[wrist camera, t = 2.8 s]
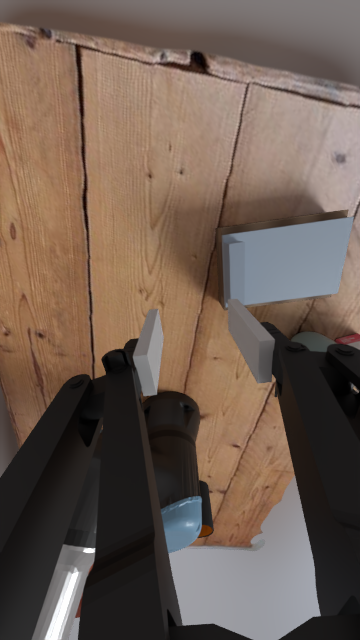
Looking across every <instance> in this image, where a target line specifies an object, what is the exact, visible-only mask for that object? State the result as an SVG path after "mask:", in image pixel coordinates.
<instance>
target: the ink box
mask: <svg viewBox="0 0 360 640" xmlns="http://www.w3.org/2000/svg"><path fill="white" fill-rule="evenodd" d="M335 342H336V343H338V344H347V345H350V346H353V347H355V348H357V349H359V350H360V335H359V334H354V335H349V336H345V337H342V338H338V339H336V340H335ZM354 387H355V388H356V389H357V387H356V386H354ZM357 390H358V389H357ZM358 391H359V390H358Z"/></svg>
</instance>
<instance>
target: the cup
mask: <svg viewBox="0 0 360 640" xmlns="http://www.w3.org/2000/svg"><path fill="white" fill-rule="evenodd" d="M290 341H293V342H298V343H302V344H303V345H305V346H307V348H308V349H309V350H310V351H318V352H326V351H327V347H328V346H329V345H331V344H338V343H336V342H335V341H333V340H331V339H330V338H328V337H326V336H324V335H322V334H320V333H317V332H313V331H305V332H301V333H298V334H296V335H295V336H293V338H292V339H291V340H290Z"/></svg>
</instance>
